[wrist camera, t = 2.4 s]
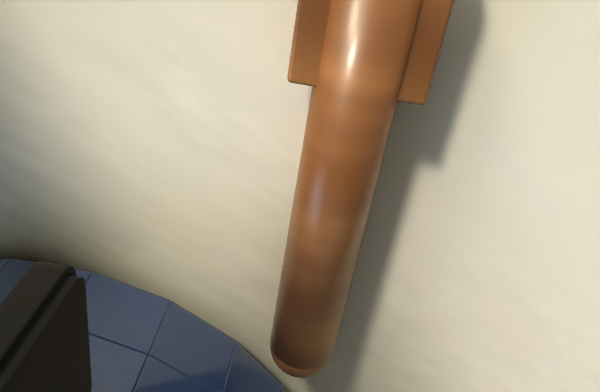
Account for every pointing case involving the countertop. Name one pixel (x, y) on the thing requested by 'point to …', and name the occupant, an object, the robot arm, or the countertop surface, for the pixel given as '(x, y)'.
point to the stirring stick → (344, 153)
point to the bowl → (153, 342)
